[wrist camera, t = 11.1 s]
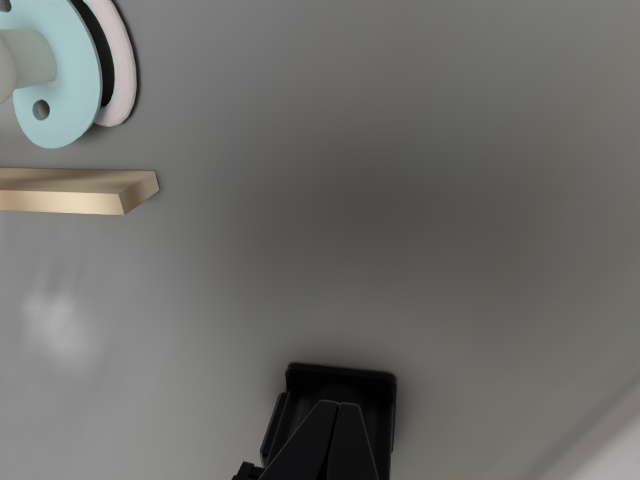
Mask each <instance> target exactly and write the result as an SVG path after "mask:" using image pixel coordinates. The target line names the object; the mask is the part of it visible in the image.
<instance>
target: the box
mask: <svg viewBox="0 0 640 480" xmlns="http://www.w3.org/2000/svg"><path fill="white" fill-rule="evenodd" d="M158 191H159V186H158V182H157V177H156V173H155V171H126V170H80V169H33V168H0V210H19V211H41V212H64V213H87V214H110V215H125V214H127V213H128V212H130V211H131V210H132V209H134V208H135V207H137V206H138V205H139V204H141V203H142V202H144V201H145V200H146V199H148V198H149V197H151V196H152V195H153V194H155V193H156V192H158Z"/></svg>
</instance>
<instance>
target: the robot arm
mask: <svg viewBox="0 0 640 480" xmlns="http://www.w3.org/2000/svg"><path fill="white" fill-rule="evenodd" d="M293 372H294V373H293ZM295 373H296V374H295ZM285 376H286V385H287V393H284V392H282V393H281V394H280V395H279V396H278V399H277V402H276V405H275V408H274V411H273V414H272V417H271V419H270V422H269V425H268V428H267V431H266V434H265V437H264V440H263V443H262V446H261V448H260V457H261V463H262V468H261V467H257V466H254V464H253V463H249V462H245V461H243V463H242V465H241V467H240V469H239V471H238V473H237V475H234V476H233V478H232V480H390V467H391V453H392V452H393V443H394V425H395V408H396V390H397V380H396V378H395V377H394V376H392V375H389V374H381V373H371V372H362V371H353V370H344V369H335V368H325V367H316V366H307V365H298V364H291V365H289V366H288V367H287V370H286V373H285ZM386 383H390V384H386Z"/></svg>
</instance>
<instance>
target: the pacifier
mask: <svg viewBox="0 0 640 480" xmlns="http://www.w3.org/2000/svg"><path fill="white" fill-rule="evenodd" d="M9 1H10V3H11V6H12V8H11V11H10V12H8V11H5V10H4V9H2V8H1V7H0V104H1V103H3V102H4V101H5V100H7V99H8V98H9V97H10V96H11V94H12V93H13V102H14V107H15V112H16V116H17V118H18V121H19V124H20V126H21V128H22V130H23V132H24V133H25V134H26V135H27V137H28V138H29V139H30V140H31V141H32V142H33V143H34V144H36V145H39V146H41V147H44V148H49V149H50V148H59V147H63V146H66V145H68V144H70V143H72V142H73V141H75V140H77V139H78V138H79V137H81V136H82V135H83V134H85V132H86V131H87V130H88V129H89V128H90V127H91V126H92V124H93V122H94V123H96V124H98V125H101V126H107V127H112V126H116V125H119V124H121V123H122V122H123V121H124V120H125V119H126V118H127V117H128V116H129V114H130V111H131V109H132V107H133V105H134V101H135V95H136V89H137V80H136V65H135V60H134V55H133V50H132V46H131V43H130V40H129V37H128V34H127V31H126V28H125V25H124V23H123V21H122V19H121V17H120V15H119V13H118V11H117V9H116V7H115V5H114V4H113V3H112V1H111V0H83V1H84V2H85V3H86V4H87V5H88V6H89V8H90V9H91V10H92V12H93V13H94V15H95V16H96V18H97V19H98V21H99V23H100V25H101V27H102V29H103V31H104V33H105V35H106V38H107V41H108V44H109V46H110V49H111V54H112V58H113V63H114V72H115V84H114V92H113V95H112V98H111V100H110V102H109V103H108V104H107V105H106V107H103V106H100V104H101V98H102V70H101V65H100V60H99V56H98V53H97V49H96V46H95V44H94V41H93V38H92V36H91V34H90V32H89V30H88V28H87V26H86V24H85V22H84V20H83V19H82V17H81V15H80V14H79V12H78V11H77V9H76V8H75V7H74V5H73V4H72V3H71V1H70V0H9ZM40 100H45V101H46V102H47V103H48V105H49V107H50V113H49V116H48V117H47V118H46V119H43V118H41V117H40V116H39V114H38V110H37V106H38V103H39V102H40Z"/></svg>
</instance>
